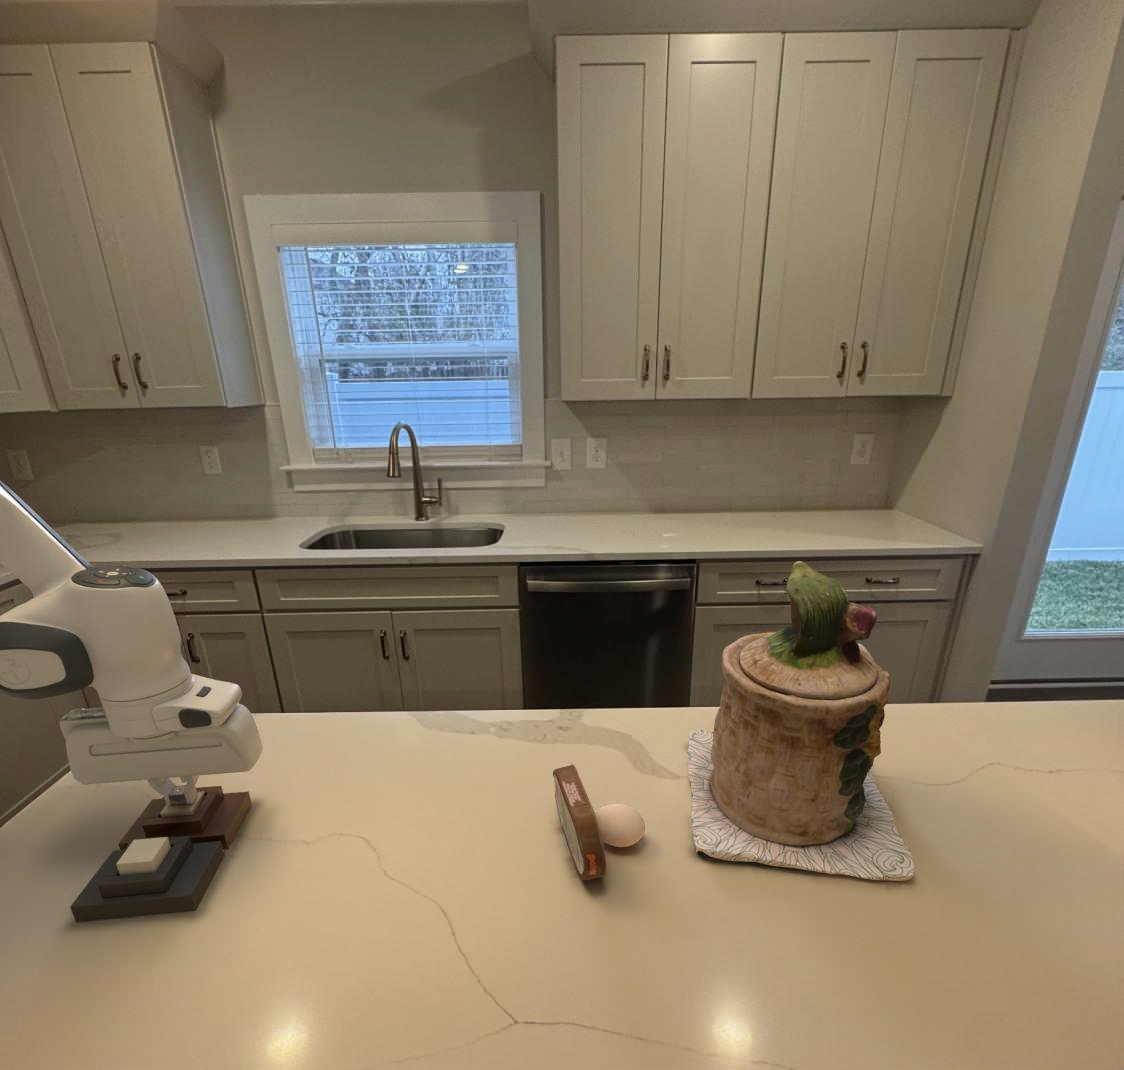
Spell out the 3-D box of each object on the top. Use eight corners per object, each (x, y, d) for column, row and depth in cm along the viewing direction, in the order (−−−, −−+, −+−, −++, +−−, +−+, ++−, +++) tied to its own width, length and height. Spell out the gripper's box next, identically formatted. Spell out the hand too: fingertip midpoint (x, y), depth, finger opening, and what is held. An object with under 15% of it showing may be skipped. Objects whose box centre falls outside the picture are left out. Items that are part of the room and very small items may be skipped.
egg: (642, 859, 71) (585, 851, 73) (645, 833, 76) (592, 825, 77) (644, 823, 70) (586, 816, 71) (647, 799, 74) (593, 792, 76)
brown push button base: (122, 858, 73) (113, 832, 71) (156, 812, 80) (148, 787, 79) (228, 849, 74) (221, 822, 73) (252, 804, 81) (245, 780, 80)
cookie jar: (690, 862, 71) (711, 606, 59) (685, 740, 93) (700, 537, 81) (920, 888, 67) (993, 619, 55) (858, 755, 90) (900, 543, 78)
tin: (608, 893, 67) (609, 832, 64) (580, 899, 66) (580, 838, 63) (574, 803, 81) (573, 750, 78) (550, 808, 80) (549, 753, 77)
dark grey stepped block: (75, 922, 65) (63, 894, 63) (118, 865, 72) (108, 838, 70) (195, 910, 66) (186, 882, 64) (225, 855, 73) (217, 828, 72)
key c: (120, 876, 66) (115, 864, 65) (137, 851, 69) (133, 839, 68) (155, 873, 66) (151, 860, 65) (171, 848, 69) (167, 836, 69)
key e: (163, 824, 74) (159, 813, 74) (177, 804, 78) (174, 793, 77) (194, 822, 75) (191, 810, 74) (207, 802, 78) (204, 791, 77)
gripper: (36, 726, 66) (76, 827, 72) (234, 712, 68) (259, 811, 74) (72, 696, 72) (107, 792, 77) (254, 684, 74) (276, 778, 79)
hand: (183, 801), depth 75 cm, fingers closed, pressing on key e
